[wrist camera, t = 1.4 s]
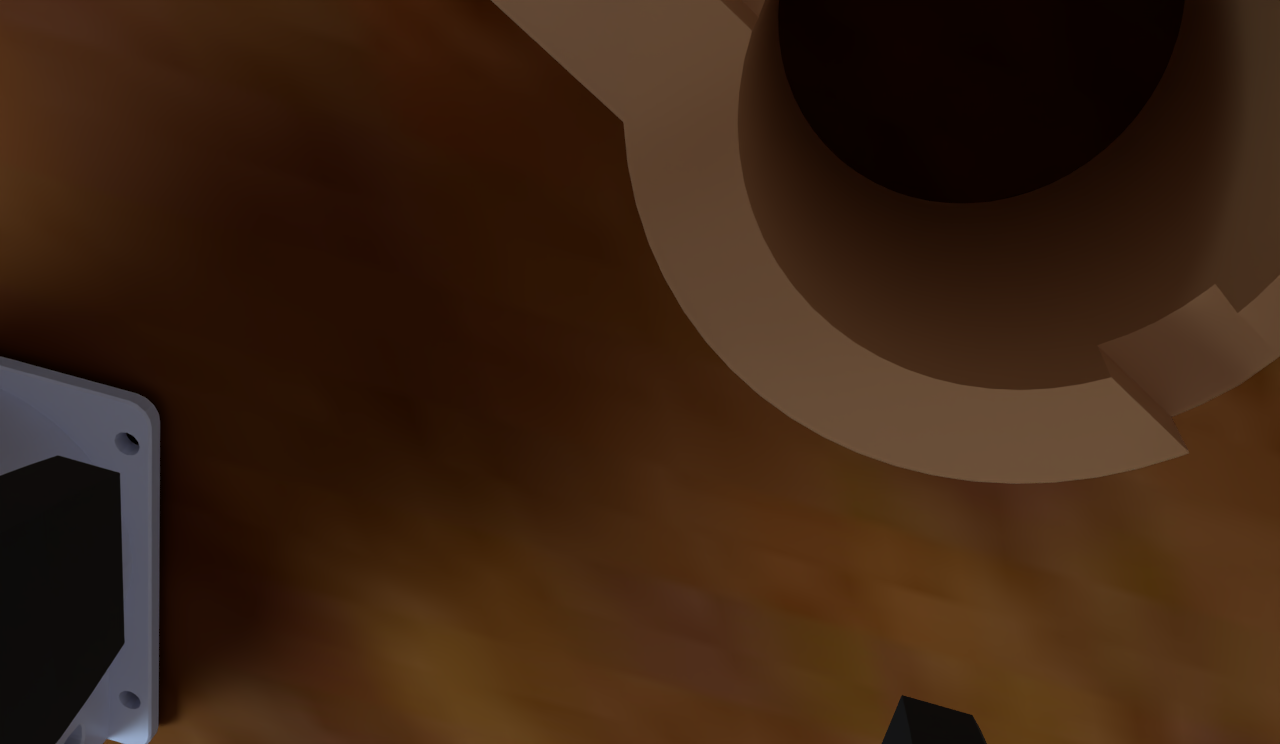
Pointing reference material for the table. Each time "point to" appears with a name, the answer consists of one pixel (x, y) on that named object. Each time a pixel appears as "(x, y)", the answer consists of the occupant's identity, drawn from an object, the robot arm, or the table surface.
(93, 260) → the table surface
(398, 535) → the table surface
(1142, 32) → the table surface
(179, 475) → the table surface
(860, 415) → the bracket
